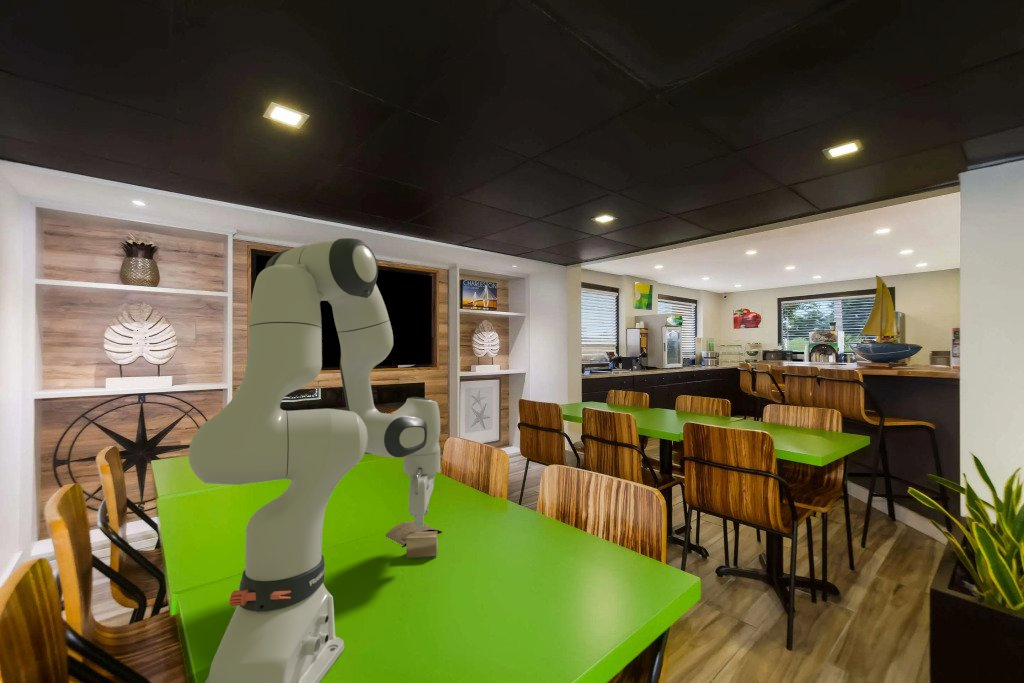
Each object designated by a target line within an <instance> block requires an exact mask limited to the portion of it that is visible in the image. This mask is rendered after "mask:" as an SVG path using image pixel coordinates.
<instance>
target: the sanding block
mask: <svg viewBox="0 0 1024 683" xmlns="http://www.w3.org/2000/svg"><path fill="white" fill-rule="evenodd" d="M438 536H439V534H438V530H434V531H433V530H432V531H429V530H427V531H422V532H409V533H408V535H407V538H406V552H405V553H406V556H405V557H406V558H420V559H433V558H432V557H436V556H438V552H437V551H439V550H438V545H439V543H438V538H439V537H438ZM436 558H437V557H436Z"/></svg>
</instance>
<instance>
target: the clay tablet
mask: <svg viewBox="0 0 1024 683" xmlns="http://www.w3.org/2000/svg"><path fill="white" fill-rule="evenodd" d="M429 530H432V531H433V530H434V531H437V532H440V531H439V530H438V529H437V528H435V527H434V528H433V527H432V526H430V525H427V524H425V523H424V527H423V529H422V530H416V529H415V520H409V521H403V522H401V523H398V524H397V525H395V526H394V527H392V528H391V529H390V530H389V531H388V532H387V533H386V534H385V535H386V537H388V538H390V539H392V540H394V541H396V542H397V543H399V544H401V545H403V547H404V546H405V544H406V538H407V535H408V533H409V532H427V531H429Z"/></svg>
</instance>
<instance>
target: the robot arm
mask: <svg viewBox="0 0 1024 683" xmlns="http://www.w3.org/2000/svg"><path fill="white" fill-rule="evenodd" d="M378 274H379V264H378V260H377V257H376V255H375V254H374V252H373V249H371V248H370V247H369V245H367V244H366V243H365V242H364V241H363V240H361V239H358V238H348V237H346V238H344V237H342V238H338V239H336V240H328V241H327V240H326V241H320V242H310V243H307V244H303V245H299V246H297V247H293V248H291V249H286V250H285V249H284V250H282V251H280V252H278V253H276V254H275V255H273V256H272V257H270V259H269V260H267V263H266V264H265V267H264V269H262V270H261V271H260V272H259V274H257V277H256V280H255V283H254V287H253V291H252V295H251V296H252V297H251V299H250V300H251V303H250V308H249V321H248V349H247V359H246V367H245V371H244V372H245V373H244V376H243V379H242V380H241V384H240V386H239V388H238V390H237V391H236V393H235V395H234V397H233V398H232V399H231V400H230V401H229V403H227V405H226V406H225V407H224V408H222V410H220V411H219V412H218V413H216V414H215V415H214V416H213V417H211V418H209V419H208V420H207V421H205V422H204V423H203V424H202V425H200V427H199V428H198V429H197V431H196V432H195V434H194V435H193V437H192V439H191V441H190V444H189V448H188V462H189V465H190V467H191V470H192V471H193V473H194V475H195V476H196V477H197V478H198V479H199V480H200V481H201V482H203V483H204V484H210V485H223V486H224V485H228V486H233V485H234V486H242V485H248V484H256V483H265V482H272V481H281V480H290V484H289V485H288V487H287V489H285V491H284V492H283V493H282V494H280V495H279V496H277V497H276V498H273V499H272V500H270V501H269V502H267V503H266V504H264V505H263V506H261V507H259V508H258V509H257V510H256V511H255V512H254V513H253V515H251V517H249V518H250V519H249V520H248V522H247V525H246V528H245V550H244V553H245V558H244V559H245V560H244V562H245V564H244V567H245V568H244V570H243V572H242V574H241V578H240V582H239V585H238V590H236V589H235V590H233V591H232V592H231V594H230V597H229V601H228V602H229V603H228V604H229V606H230V607H235V610H234V612H233V614H232V616H231V619H230V621H229V623H228V625H227V627H226V629H225V632H224V634H223V636H222V638H221V641H220V643H219V646H218V647H217V649H216V652H215V654H214V656H213V660H212V662H211V664H210V668H209V674H208V676H207V678H206V680H205V681H204V683H320V682H321V680H323V678H324V677H325V675H326V674H327V672H328V671H329V670H330V669H331V667H332V666H333V664H334V663H335V662H336V660H338V658H339V656H340V655H341V654H342V652H344V649H345V642H344V640H343V639H342V638H341V637H338V636H336V627H335V626H336V625H335V608H334V607H335V606H334V597H333V595H332V593H330V591H329V590H328V589H327V588H326V586H325V584H324V581H325V571H326V564H325V557H324V555H323V554H322V547H323V546H322V544H323V543H322V542H323V530H324V529H323V528H324V520H325V512H326V508H327V507H328V506H327V505H328V502H329V500H330V498H331V496H332V494H333V492H334V490H335V488H336V487H337V485H338V484H339V483H340V481H341V480H343V478H344V477H345V475H346V474H348V472H350V470H352V469H353V468H354V467H355V466H357V465H358V464H359V463H360V461H362V459H363V457H364V455H375V456H381V457H387V458H393V459H397V458H403V473H404V474H406V475H408V479H409V489H408V490H409V491H408V513H409V515H410V516H413V518H414V521H415V529H416V530H422V529H423V527H424V524H425V522H424V521H425V520H424V518H425V517H424V516H427V515H428V513H429V502H430V499H431V496H432V494H433V490H434V488H435V486H434V485H435V480H436V479H435V478H436V473H439V471H441V446H440V435H441V413H440V408H439V404H438V402H437V401H436V400H435V399H433V398H428V397H419V396H411V397H407V399H406V401H405V402H404V404H403V405H402V406H401V407H399V408H398V409H396V410H395V411H392V412H391V413H386V412H385V413H384V412H381V411H379V410H378V409H377V408H376V406H375V403H374V397H373V391H372V390H373V389H372V385H371V373H372V370H373V369H374V368H375V367H376V366H377V365H379V364H380V363H382V362H383V361H385V359H387V357H388V356H389V354H390V353H391V351H392V349H393V347H394V334H393V329H392V328H393V327H392V325H391V321H390V317H389V314H388V310H387V306H386V304H385V301H384V299H383V296H382V294H381V291H380V290H379V287H378V284H377V279H378ZM322 301H323V302H324V301H325V302H328V304H330V306H331V309H332V315H333V319H334V325H335V328H336V332H337V336H338V341H339V345H340V358H339V359H340V360H339V371H340V377H341V384H342V388H343V395H344V400H345V406H346V409H337V408H336V409H335V408H315V409H314V408H313V409H298V410H295V409H294V410H285V409H282V408H281V404H282V400H284V398H285V397H286V396H288V395H289V394H291V393H293V392H295V391H298V390H300V389H301V388H303V387H305V386H307V385H309V384H311V383H312V382H314V381H315V380H316V379H317V378H318V377H319V375H320V373H321V372H322V367H323V354H322V353H323V348H322V347H323V342H322V340H323V337H322V336H323V335H322V333H323V332H322V330H323V329H322V311H321V302H322Z"/></svg>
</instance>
